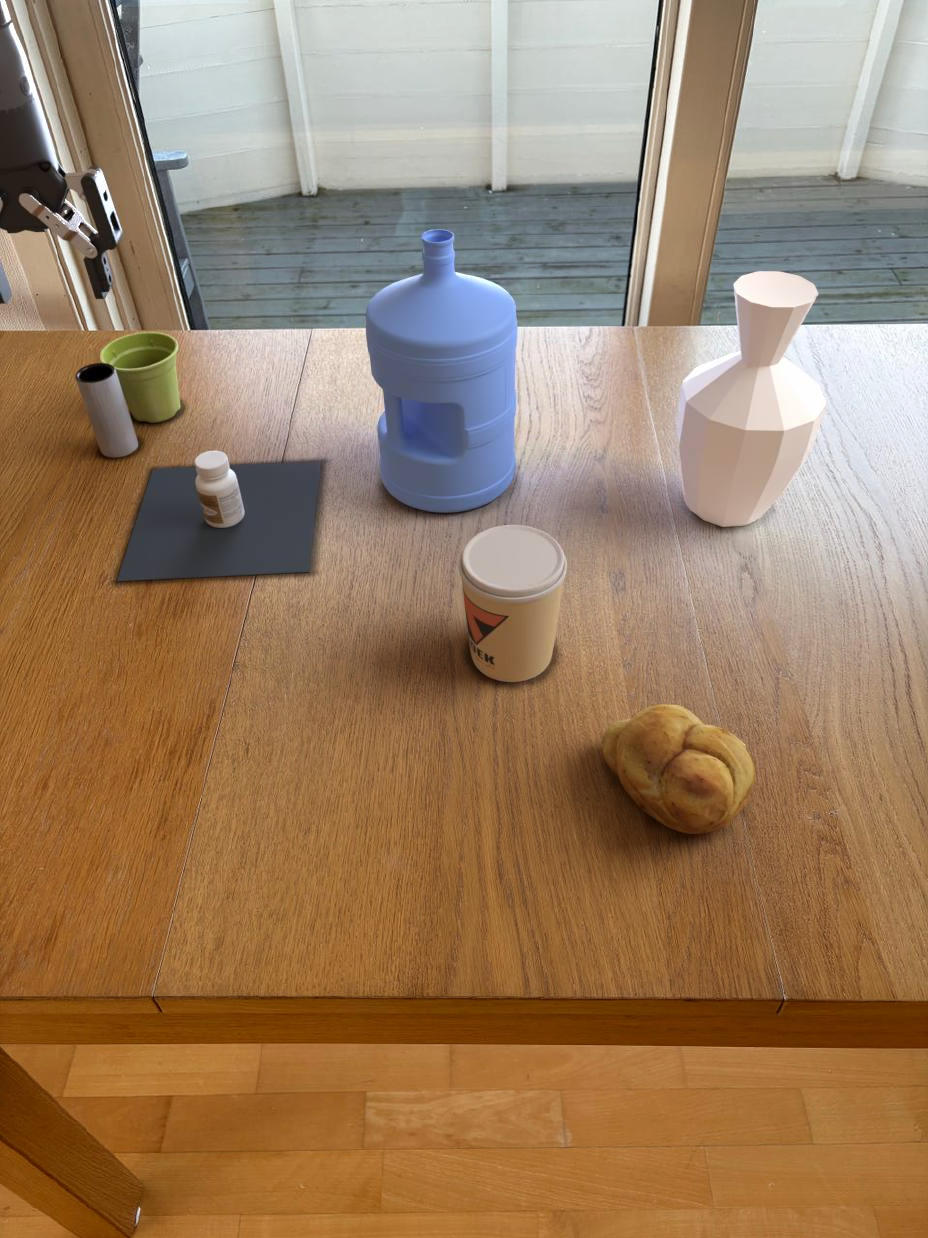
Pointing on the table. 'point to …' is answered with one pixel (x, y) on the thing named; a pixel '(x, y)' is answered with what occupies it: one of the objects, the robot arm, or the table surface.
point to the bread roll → (680, 768)
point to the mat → (257, 545)
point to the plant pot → (146, 373)
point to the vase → (750, 407)
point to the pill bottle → (218, 490)
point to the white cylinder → (107, 409)
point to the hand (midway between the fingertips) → (53, 297)
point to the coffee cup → (512, 600)
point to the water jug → (444, 383)
